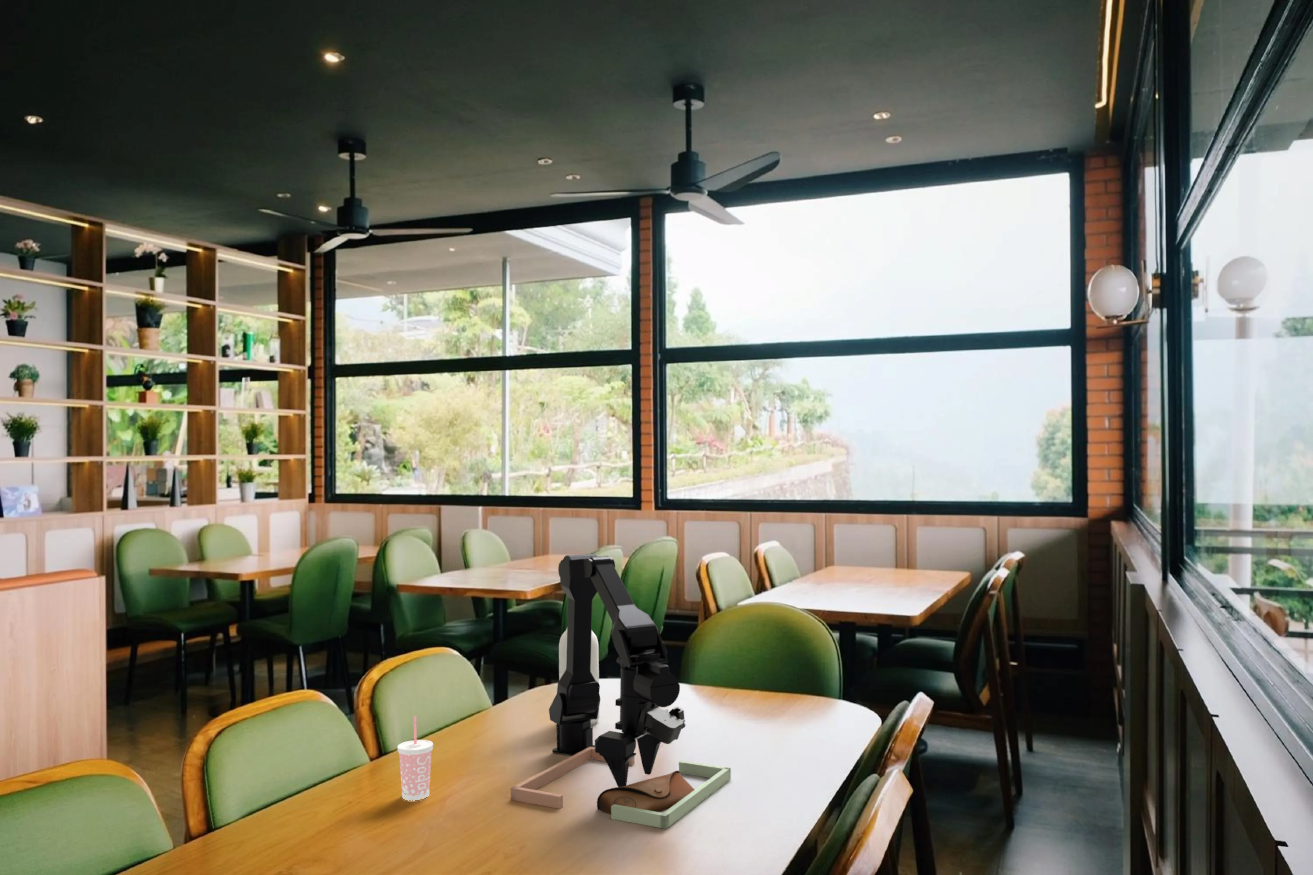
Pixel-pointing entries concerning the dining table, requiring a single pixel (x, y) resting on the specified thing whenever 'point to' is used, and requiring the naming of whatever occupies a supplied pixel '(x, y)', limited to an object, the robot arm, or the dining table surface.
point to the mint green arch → (674, 813)
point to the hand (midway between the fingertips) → (635, 781)
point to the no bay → (528, 787)
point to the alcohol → (593, 660)
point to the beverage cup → (415, 767)
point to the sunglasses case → (647, 794)
